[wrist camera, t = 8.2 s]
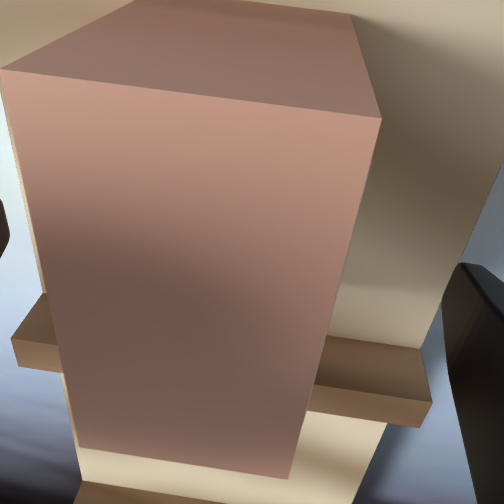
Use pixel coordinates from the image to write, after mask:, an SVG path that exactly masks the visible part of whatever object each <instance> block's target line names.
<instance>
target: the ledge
mask: <svg viewBox="0 0 504 504" xmlns="http://www.w3.org/2000/svg"><path fill="white" fill-rule="evenodd" d="M132 1H134V0H0V68H2V67H4V66H6V65H8V64H10V63H12V62H14V61H16V60H18V59H20V58H22V57H24V56H26V55H28V54H30V53H32V52H34V51H36V50H38V49H40V48H41V47H43V46H45V45H47V44H49V43H51V42H53V41H55V40H57V39H59V38H61V37H63V36H65V35H67V34H69V33H71V32H73V31H75V30H77V29H79V28H81V27H83V26H85V25H87V24H89V23H91V22H93V21H95V20H97V19H99V18H101V17H103V16H105V15H107V14H109V13H111V12H113V11H115V10H117V9H118V8H120V7H122V6H124V5H126V4H128V3H130V2H132ZM242 1H251V2H259V3H267V4H275V5H283V6H291V7H300V8H308V9H316V10H324V11H332V12H341V13H349V14H350V17H351V20H352V24H353V27H354V30H355V33H356V36H357V40H358V43H359V46H360V49H361V53H362V56H363V59H364V62H365V65H366V69H367V72H368V75H369V78H370V82H371V85H372V88H373V91H374V94H375V98H376V101H377V104H378V107H379V111H380V114H381V117H382V120H381V124H380V128H379V132H378V136H377V140H376V143H375V147H374V151H373V155H372V159H371V167H370V171H369V174H368V178H367V182H366V186H365V190H364V194H363V197H362V201H361V205H360V209H359V213H358V216H357V220H356V224H355V228H354V232H353V236H352V239H351V243H350V247H349V251H348V255H347V259H346V262H345V266H344V270H343V274H342V278H341V281H340V285H339V289H338V293H337V297H336V301H335V304H334V308H333V312H332V316H331V320H330V323H329V327H328V331H327V335H326V339H325V343H324V346H323V350H322V354H321V358H320V362H319V366H318V369H317V373H316V377H315V381H314V385H313V388H312V392H311V396H310V400H309V404H308V408H307V411H306V415H305V419H304V423H303V424H302V428H301V432H300V435H299V439H298V443H297V447H296V451H295V455H294V459H293V462H292V466H291V470H290V474H289V478H288V480H285V479H279V478H272V477H266V476H259V475H253V474H247V473H240V472H234V471H227V470H221V469H215V468H208V467H202V466H195V465H189V464H183V463H176V462H170V461H163V460H157V459H151V458H144V457H138V456H131V455H125V454H118V453H112V452H106V451H99V450H93V449H86V448H80V447H79V444H78V439H77V435H76V430H75V425H74V421H73V416H72V411H71V406H70V402H69V397H68V392H67V387H66V383H65V378H64V373H63V369H62V364H61V359H60V354H59V350H58V345H57V340H56V336H55V331H54V326H53V321H52V317H51V312H50V307H49V302H48V298H47V293H46V288H45V284H44V279H43V274H42V269H41V265H40V260H39V255H38V250H37V246H36V241H35V236H34V232H33V227H32V222H31V217H30V213H29V208H28V203H27V199H26V194H25V189H24V184H23V180H22V175H21V170H20V165H19V161H18V156H17V151H16V147H15V142H14V137H13V132H12V128H11V123H10V118H9V114H8V109H7V104H6V99H5V95H4V90H3V85H2V80H1V76H0V92H1V97H2V102H3V106H4V111H5V116H6V121H7V125H8V130H9V135H10V139H11V144H12V149H13V154H14V158H15V163H16V168H17V173H18V177H19V182H20V187H21V191H22V196H23V201H24V206H25V210H26V215H27V220H28V224H29V229H30V234H31V239H32V243H33V248H34V253H35V258H36V262H37V267H38V272H39V276H40V281H41V286H42V291H43V294H42V295H41V296H40V298H39V299H38V301H37V302H36V303H35V305H34V306H33V308H32V309H31V310H30V312H29V313H28V315H27V316H26V317H25V319H24V320H23V322H22V323H21V325H20V326H19V327H18V329H17V330H16V332H15V333H14V334H13V336H12V337H11V342H12V345H13V349H14V352H15V356H16V359H17V363H18V366H19V367H26V368H32V369H39V370H45V371H52V372H58V373H60V376H61V380H62V385H63V390H64V395H65V399H66V404H67V409H68V414H69V418H70V423H71V428H72V432H73V437H74V442H75V447H76V451H77V456H78V461H79V466H80V470H81V475H82V480H83V481H82V483H81V485H80V488H79V490H78V493H77V495H76V498H75V500H74V503H73V504H352V502H353V499H354V497H355V495H356V493H357V490H358V488H359V486H360V484H361V481H362V479H363V477H364V475H365V472H366V470H367V468H368V466H369V463H370V461H371V459H372V457H373V454H374V452H375V450H376V447H377V445H378V443H379V441H380V438H381V436H382V434H383V432H384V429H385V427H386V425H387V423H390V424H396V425H403V426H409V427H416V428H420V426H421V424H422V422H423V421H424V419H425V417H426V415H427V413H428V411H429V409H430V407H431V405H432V403H433V402H432V398H431V393H430V389H429V385H428V380H427V376H426V372H425V368H424V363H423V359H422V355H421V351H420V348H421V346H422V344H423V341H424V339H425V337H426V335H427V332H428V330H429V328H430V326H431V323H432V321H433V319H434V317H435V314H436V312H437V310H438V308H439V305H440V303H441V301H442V296H443V293H444V291H445V289H446V286H447V284H448V282H449V279H450V277H451V275H452V273H453V270H454V268H455V267H456V265H457V264H458V262H459V260H460V258H461V256H462V253H463V251H464V249H465V247H466V244H467V242H468V240H469V238H470V235H471V233H472V231H473V229H474V226H475V224H476V222H477V219H478V217H479V215H480V213H481V210H482V208H483V206H484V204H485V201H486V199H487V197H488V195H489V192H490V190H491V188H492V186H493V183H494V181H495V179H496V177H497V174H498V172H499V170H500V168H501V165H502V163H503V161H504V0H242Z"/></svg>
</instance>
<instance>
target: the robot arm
mask: <svg viewBox="0 0 504 504" xmlns="http://www.w3.org/2000/svg"><path fill="white" fill-rule="evenodd" d="M9 237H10V232H9V227H8V223H7V219H6V214H5V210H4V206H3V203H2V201H1V199H0V258H1V256H2V254H3V252H4V250H5V248H6V246H7V244H8V242H9ZM441 309H442V319H443V329H444V339H445V350H446V360H447V368H448V375H449V380H450V385H451V390H452V394H453V398H454V403H455V407H456V412H457V416H458V420H459V425H460V429H461V434H462V438H463V442H464V447H465V451H466V456H467V460H468V465H469V469H470V473H471V478H472V482H473V487H474V491H475V495H476V500H477V504H504V282H502V281H501V280H500V279H498V278H497V277H496V276H495V275H493V274H492V273H491V272H489V271H488V270H487V269H485V268H484V267H483V266H481V265H478V264H470V263H463V262H462V263H459V264H457V265H456V267H455V268H454V270H453V273H452V275H451V277H450V279H449V282H448V284H447V286H446V289H445V291H444V293H443V296H442V301H441Z"/></svg>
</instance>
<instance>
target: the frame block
mask: <svg viewBox="0 0 504 504" xmlns="http://www.w3.org/2000/svg"><path fill="white" fill-rule="evenodd" d="M0 76H1V80H2V85H3V90H4V95H5V99H6V104H7V109H8V114H9V118H10V123H11V128H12V132H13V137H14V142H15V147H16V151H17V156H18V161H19V165H20V170H21V175H22V180H23V184H24V189H25V194H26V199H27V203H28V208H29V213H30V217H31V222H32V227H33V232H34V236H35V241H36V246H37V250H38V255H39V260H40V265H41V269H42V274H43V279H44V284H45V288H46V293H47V298H48V302H49V307H50V312H51V317H52V321H53V326H54V331H55V336H56V340H57V345H58V350H59V354H60V359H61V364H62V369H63V373H64V378H65V383H66V387H67V392H68V397H69V402H70V406H71V411H72V416H73V421H74V425H75V430H76V435H77V439H78V444H79V447H80V448H86V449H93V450H99V451H106V452H112V453H118V454H125V455H131V456H138V457H144V458H151V459H157V460H163V461H170V462H176V463H183V464H189V465H195V466H202V467H208V468H215V469H221V470H227V471H234V472H240V473H247V474H253V475H259V476H266V477H272V478H279V479H285V480H288V478H289V474H290V470H291V466H292V462H293V459H294V455H295V451H296V447H297V443H298V439H299V435H300V432H301V428H302V424H303V423H304V419H305V415H306V411H307V408H308V404H309V400H310V396H311V392H312V388H313V385H314V381H315V377H316V373H317V369H318V366H319V362H320V358H321V354H322V350H323V346H324V343H325V339H326V335H327V331H328V327H329V323H330V320H331V316H332V312H333V308H334V304H335V301H336V297H337V293H338V289H339V285H340V281H341V278H342V274H343V270H344V266H345V262H346V259H347V255H348V251H349V247H350V243H351V239H352V236H353V232H354V228H355V224H356V220H357V216H358V213H359V209H360V205H361V201H362V197H363V194H364V190H365V186H366V182H367V178H368V174H369V171H370V167H371V159H372V155H373V151H374V147H375V143H376V140H377V136H378V132H379V128H380V124H381V120H382V117H381V114H380V111H379V107H378V104H377V101H376V98H375V94H374V91H373V88H372V85H371V82H370V78H369V75H368V72H367V69H366V65H365V62H364V59H363V56H362V53H361V49H360V46H359V43H358V40H357V36H356V33H355V30H354V27H353V24H352V20H351V17H350V14H349V13H341V12H332V11H324V10H316V9H308V8H300V7H291V6H283V5H275V4H267V3H259V2H251V1H242V0H134V1H132V2H130V3H128V4H126V5H124V6H122V7H120V8H118V9H117V10H115V11H113V12H111V13H109V14H107V15H105V16H103V17H101V18H99V19H97V20H95V21H93V22H91V23H89V24H87V25H85V26H83V27H81V28H79V29H77V30H75V31H73V32H71V33H69V34H67V35H65V36H63V37H61V38H59V39H57V40H55V41H53V42H51V43H49V44H47V45H45V46H43V47H41V48H40V49H38V50H36V51H34V52H32V53H30V54H28V55H26V56H24V57H22V58H20V59H18V60H16V61H14V62H12V63H10V64H8V65H6V66H4V67H2V68H0Z"/></svg>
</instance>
